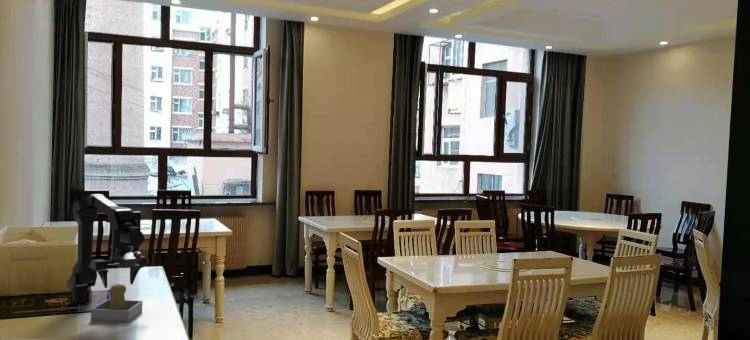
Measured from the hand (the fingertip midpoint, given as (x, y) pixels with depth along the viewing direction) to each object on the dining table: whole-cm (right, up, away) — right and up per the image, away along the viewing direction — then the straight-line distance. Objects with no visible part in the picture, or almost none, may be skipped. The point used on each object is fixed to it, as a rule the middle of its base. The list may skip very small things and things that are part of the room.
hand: (118, 286), depth 199 cm
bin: (-1, -11, 0) cm, 11 cm away
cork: (-1, -11, 0) cm, 11 cm away
